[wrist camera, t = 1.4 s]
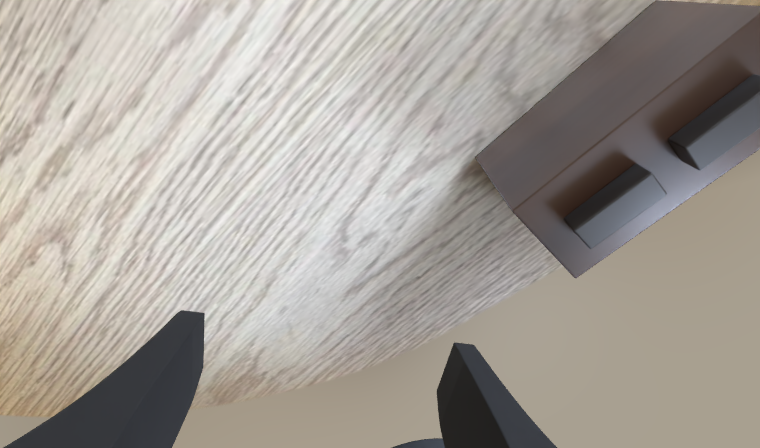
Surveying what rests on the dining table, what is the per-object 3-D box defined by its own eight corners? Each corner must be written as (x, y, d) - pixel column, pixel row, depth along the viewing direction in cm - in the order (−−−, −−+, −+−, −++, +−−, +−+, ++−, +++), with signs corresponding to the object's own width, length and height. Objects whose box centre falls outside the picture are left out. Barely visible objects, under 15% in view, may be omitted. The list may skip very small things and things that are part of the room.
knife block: (701, 76, 21) (845, 115, 15) (526, 213, 24) (586, 293, 18) (656, -1, 19) (798, 6, 13) (474, 157, 22) (520, 223, 16)
